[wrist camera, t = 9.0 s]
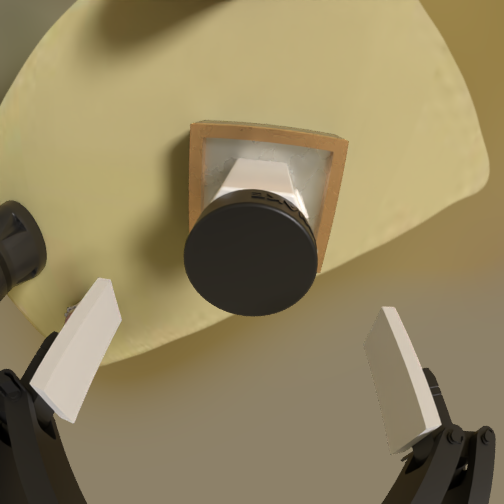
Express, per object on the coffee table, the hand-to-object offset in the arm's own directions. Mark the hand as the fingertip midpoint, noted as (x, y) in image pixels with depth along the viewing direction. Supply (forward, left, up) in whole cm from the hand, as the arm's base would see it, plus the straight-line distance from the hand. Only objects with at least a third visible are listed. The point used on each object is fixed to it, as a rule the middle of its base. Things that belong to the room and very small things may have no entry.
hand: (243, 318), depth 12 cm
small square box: (0, 0, -21) cm, 21 cm away
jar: (0, 0, -17) cm, 17 cm away
